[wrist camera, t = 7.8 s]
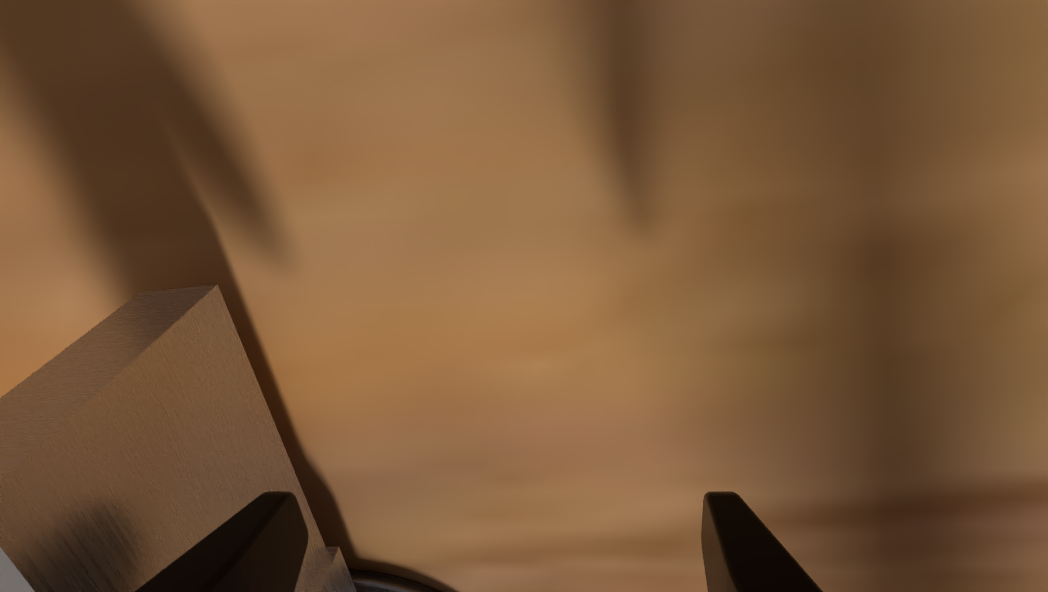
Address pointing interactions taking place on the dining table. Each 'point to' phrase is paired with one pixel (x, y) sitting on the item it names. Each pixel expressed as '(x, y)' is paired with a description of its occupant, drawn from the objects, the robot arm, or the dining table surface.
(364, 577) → the foot base
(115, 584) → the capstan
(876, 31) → the dining table surface
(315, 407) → the dining table surface
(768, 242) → the dining table surface
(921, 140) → the dining table surface
